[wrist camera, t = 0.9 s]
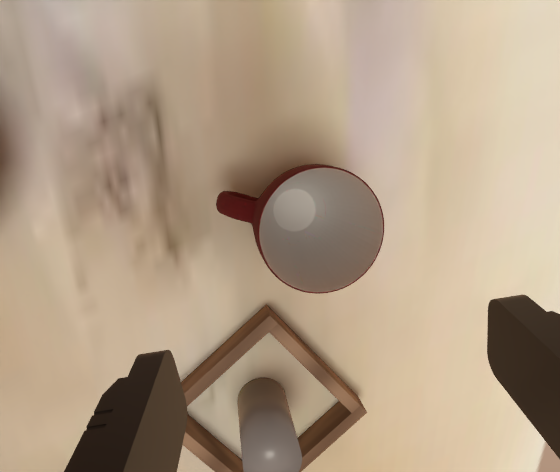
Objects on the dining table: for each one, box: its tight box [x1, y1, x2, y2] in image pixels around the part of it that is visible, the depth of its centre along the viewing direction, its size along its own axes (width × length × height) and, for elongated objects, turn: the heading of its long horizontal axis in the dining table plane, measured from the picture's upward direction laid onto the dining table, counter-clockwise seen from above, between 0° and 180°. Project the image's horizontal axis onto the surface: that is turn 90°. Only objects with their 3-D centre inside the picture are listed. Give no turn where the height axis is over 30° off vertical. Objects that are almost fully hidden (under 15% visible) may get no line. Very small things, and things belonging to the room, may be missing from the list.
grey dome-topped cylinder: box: [238, 378, 302, 472], centre depth 35 cm, size 4×4×8 cm
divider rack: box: [181, 305, 367, 472], centre depth 37 cm, size 14×25×4 cm, turn 132°
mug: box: [216, 164, 384, 293], centre depth 31 cm, size 10×8×10 cm
